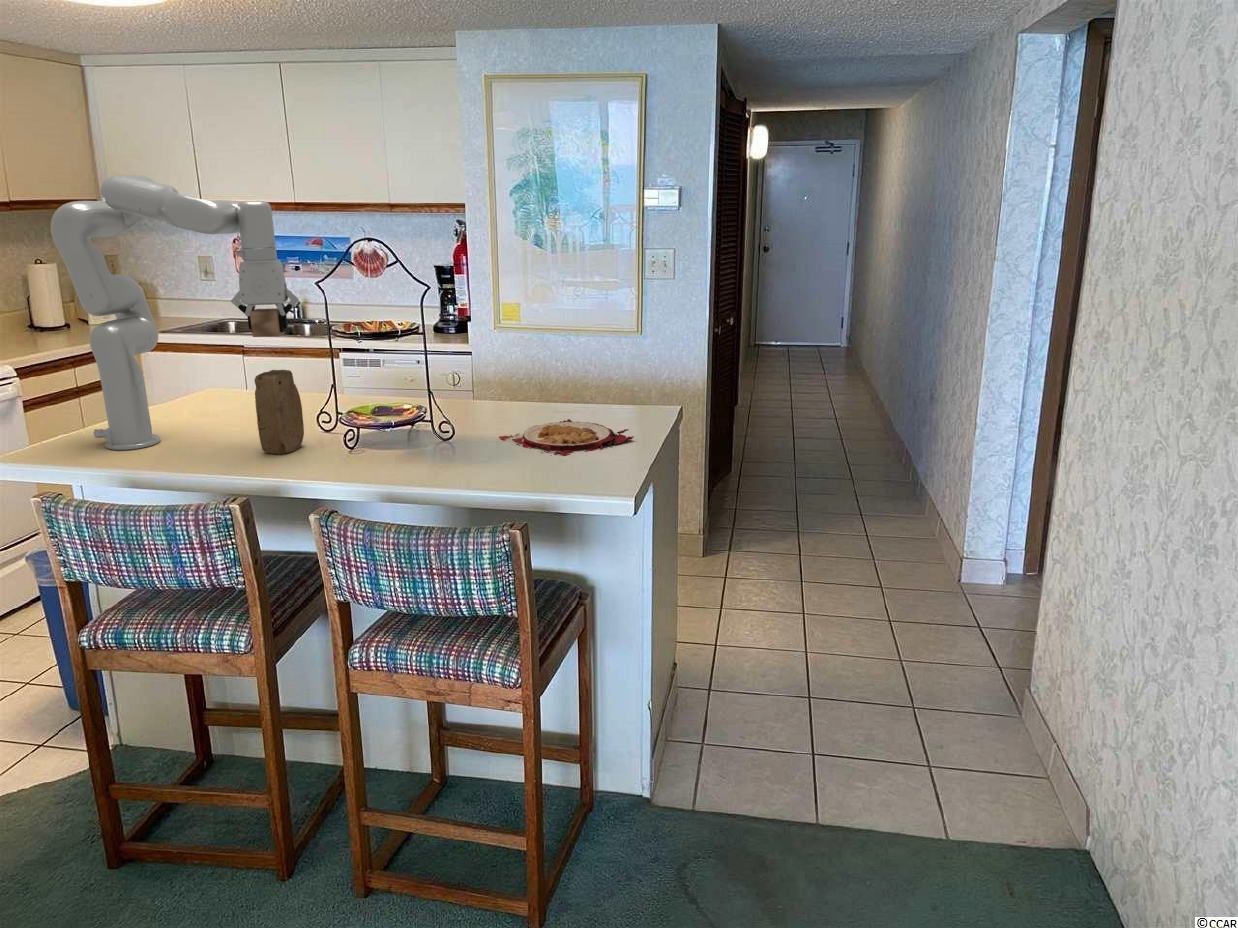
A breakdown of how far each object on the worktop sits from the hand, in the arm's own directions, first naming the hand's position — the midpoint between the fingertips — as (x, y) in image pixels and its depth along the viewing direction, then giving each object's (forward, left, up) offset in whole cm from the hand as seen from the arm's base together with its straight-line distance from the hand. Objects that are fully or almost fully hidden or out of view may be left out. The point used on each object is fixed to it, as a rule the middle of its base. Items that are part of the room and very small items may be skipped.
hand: (268, 331), depth 214 cm
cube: (0, 0, -1) cm, 1 cm away
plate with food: (+71, +1, -31) cm, 78 cm away
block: (0, 0, -30) cm, 30 cm away
